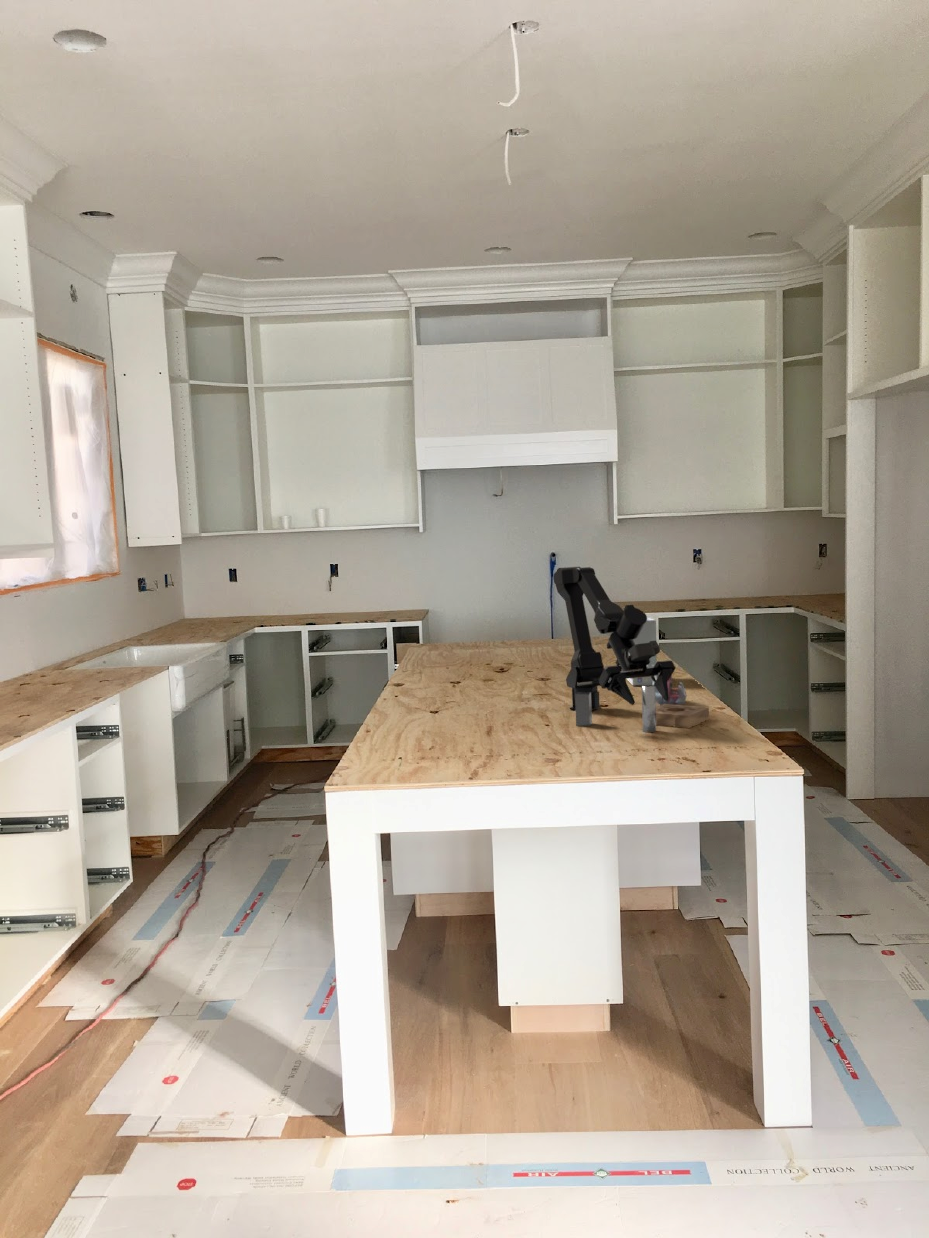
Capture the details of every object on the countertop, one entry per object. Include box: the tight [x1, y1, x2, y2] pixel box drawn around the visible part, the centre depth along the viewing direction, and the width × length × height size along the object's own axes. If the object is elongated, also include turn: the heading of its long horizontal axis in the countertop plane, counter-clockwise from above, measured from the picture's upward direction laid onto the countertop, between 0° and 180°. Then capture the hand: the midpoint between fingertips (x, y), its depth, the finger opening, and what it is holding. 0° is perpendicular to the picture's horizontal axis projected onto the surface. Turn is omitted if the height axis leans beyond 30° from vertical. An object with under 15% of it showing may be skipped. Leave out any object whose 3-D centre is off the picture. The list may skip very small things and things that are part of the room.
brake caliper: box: [652, 674, 687, 706], centre depth 272 cm, size 11×11×12 cm
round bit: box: [641, 685, 657, 733], centre depth 238 cm, size 3×3×11 cm
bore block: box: [656, 704, 710, 729], centre depth 248 cm, size 12×12×3 cm
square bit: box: [575, 692, 593, 727], centre depth 249 cm, size 3×3×8 cm
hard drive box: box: [626, 616, 658, 687], centre depth 308 cm, size 16×8×20 cm, turn 179°
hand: (650, 701), depth 237 cm, fingers open, 9 cm apart
